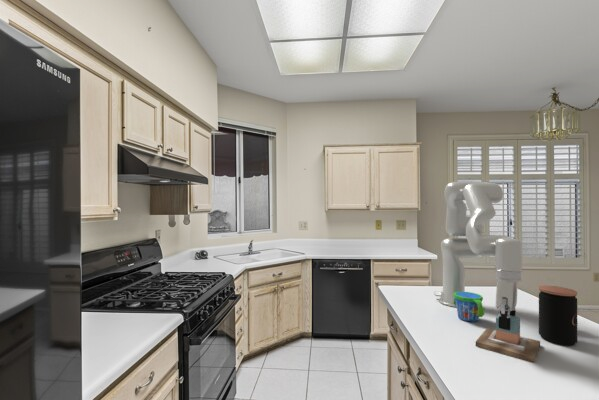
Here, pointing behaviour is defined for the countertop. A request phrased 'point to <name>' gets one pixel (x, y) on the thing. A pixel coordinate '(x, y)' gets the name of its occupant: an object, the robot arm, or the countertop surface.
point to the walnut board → (509, 346)
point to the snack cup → (468, 306)
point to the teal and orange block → (509, 331)
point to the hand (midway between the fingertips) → (507, 324)
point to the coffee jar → (558, 315)
